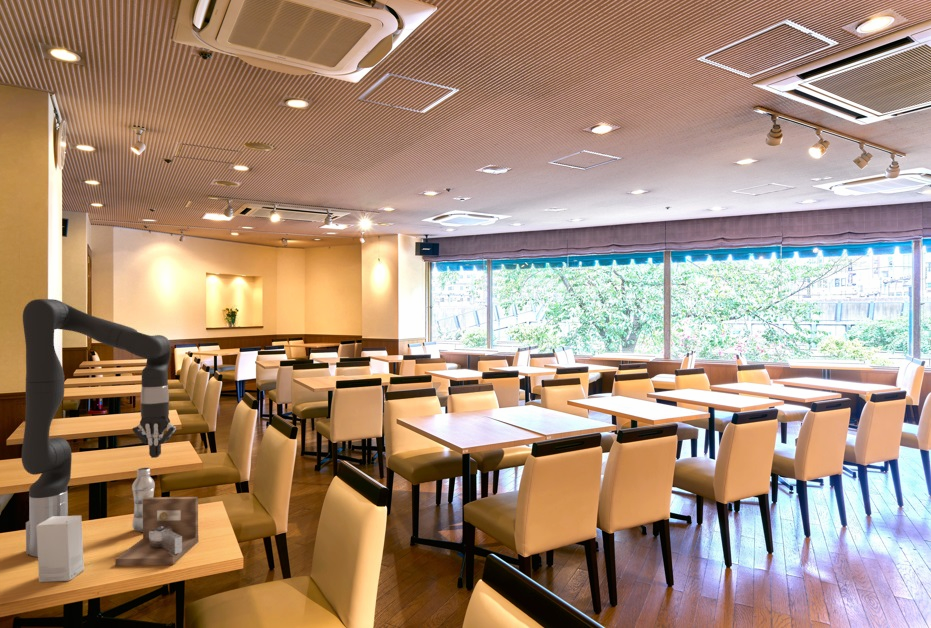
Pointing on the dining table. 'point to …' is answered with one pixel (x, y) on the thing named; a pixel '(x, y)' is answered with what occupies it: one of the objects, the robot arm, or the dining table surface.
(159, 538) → the lever
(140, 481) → the plastic bottle
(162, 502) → the stand
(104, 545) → the dining table surface
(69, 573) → the skincare box
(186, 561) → the dining table surface
